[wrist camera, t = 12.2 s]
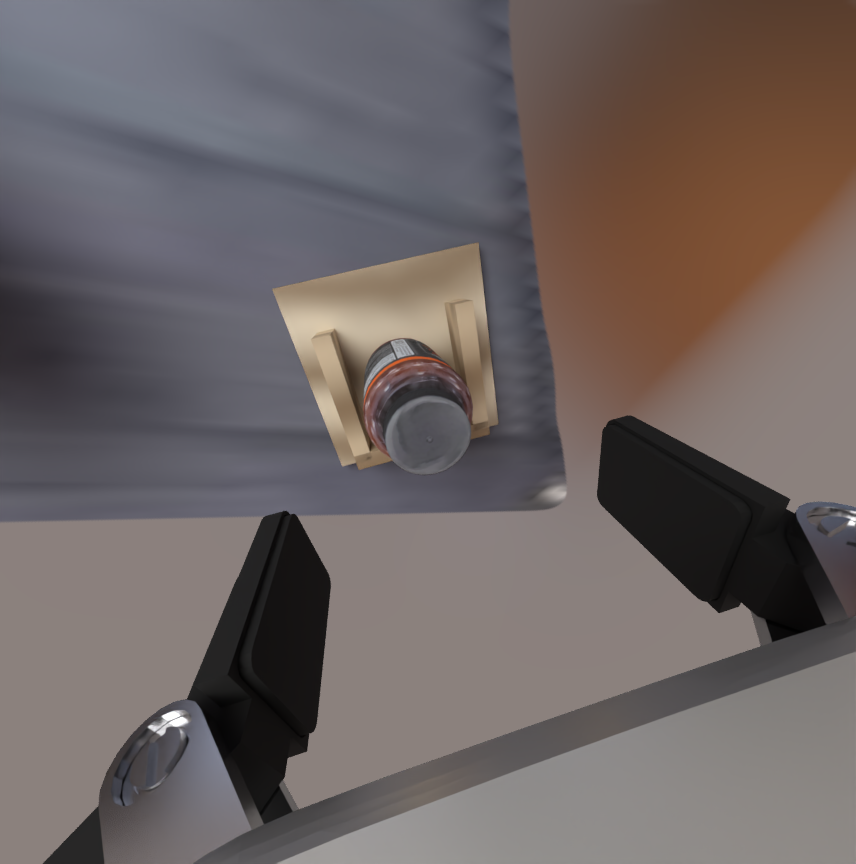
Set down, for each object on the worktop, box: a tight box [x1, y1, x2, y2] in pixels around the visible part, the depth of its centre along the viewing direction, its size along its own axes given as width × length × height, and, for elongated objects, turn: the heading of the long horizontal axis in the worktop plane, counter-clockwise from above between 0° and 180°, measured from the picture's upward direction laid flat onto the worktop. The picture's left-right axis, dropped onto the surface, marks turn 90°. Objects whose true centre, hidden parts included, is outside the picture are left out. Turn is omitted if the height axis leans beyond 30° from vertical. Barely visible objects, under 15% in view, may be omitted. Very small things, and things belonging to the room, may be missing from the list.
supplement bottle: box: [363, 338, 473, 475], centre depth 19 cm, size 6×6×11 cm
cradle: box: [272, 243, 498, 470], centre depth 23 cm, size 14×14×4 cm
